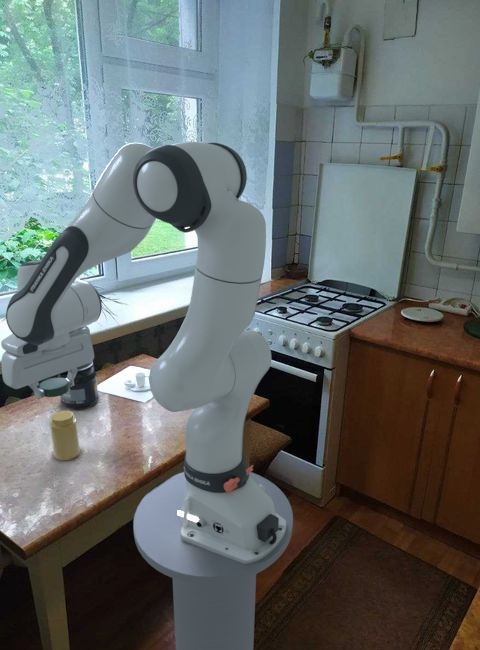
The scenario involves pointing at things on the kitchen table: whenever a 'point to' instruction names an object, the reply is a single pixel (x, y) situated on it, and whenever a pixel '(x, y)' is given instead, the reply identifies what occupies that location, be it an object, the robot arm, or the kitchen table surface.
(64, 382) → the jar lid
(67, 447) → the jam jar
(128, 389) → the teacup and saucer
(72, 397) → the supplement container
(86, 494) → the kitchen table surface
